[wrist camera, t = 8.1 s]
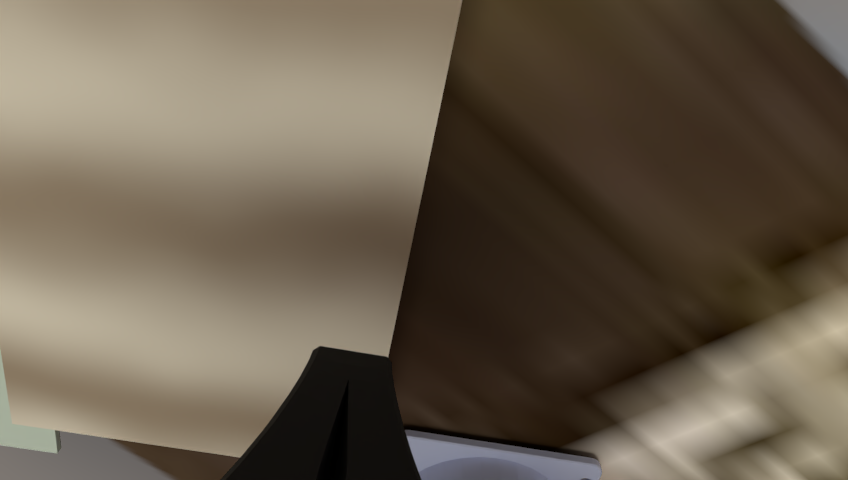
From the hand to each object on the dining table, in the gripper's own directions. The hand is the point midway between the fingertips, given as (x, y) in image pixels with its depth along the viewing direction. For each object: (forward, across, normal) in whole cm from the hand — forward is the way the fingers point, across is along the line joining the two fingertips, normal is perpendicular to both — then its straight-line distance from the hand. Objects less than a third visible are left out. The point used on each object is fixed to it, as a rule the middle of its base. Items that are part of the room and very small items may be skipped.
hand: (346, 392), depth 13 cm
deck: (+9, +4, +1) cm, 10 cm away
